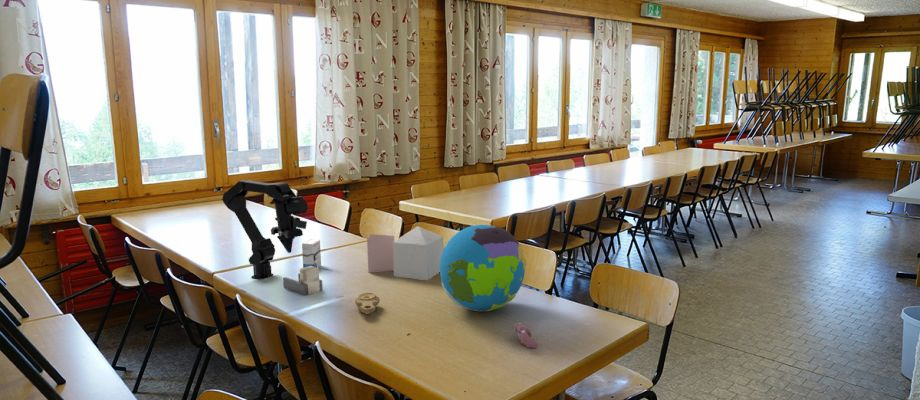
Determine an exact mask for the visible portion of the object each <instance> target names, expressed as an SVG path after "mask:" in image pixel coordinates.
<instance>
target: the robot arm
mask: <svg viewBox="0 0 920 400" xmlns="http://www.w3.org/2000/svg"><path fill="white" fill-rule="evenodd" d="M249 192H253V193H259V194H265V195H267V197H270V198H272V200H270V202H269V204H270V205H274V209H275V215H276V217H275V219H274V220H275V221H276V223H277V226H273V227H272V228H270V234H271V236H272V235H273V236H275V235H276V234H278V235H277V236H276V238H277V239H278V241H280V243H281V245H282V246H283V248H284V249H285V250H286V252H287V253H288V254H290V253H292V251H293V250H292V248H293V244H294V243H293V242H294V239H296V238H297V237H301V236H303V235H304V234H303V230H306V229H307V223H308V221H305V220H301V218H300V217H295V216H293V215H304V214H305V213H307V212H308V207H309V205H308V203H307V201H306V200H305V199H304V196H302V195H301V196H297V195H296V194H295V192H294V191H293V189H292V188H291V187H290V185H289V184H288V183H287V182H272V183H270V182H269V183H268V182H263V181H262V182H261V181H255V180H249V179H242V180H239V181H237V182H236V184H234V185H233V186H232V187H231V188H229V189H227V191H225V192H224V193H223V194H222V198H221V200H222V203H223V204H224V205H225V207H226V208H227V209H228V210H230V211H231V212H233V213H234V214H235V216H236V217H237V219H238V221H239V223H240V224H241V227H242V228H243V230H244V231H245V234H246V235H247V237H248V239H249V241H250V242H251V251H252V254H251V256H250V257H249V258H248V262H249V265H252V266H253V269H252V271H253V275H251V279H259V280H264V279H267V278H269V277H272V276H274V273H272V265H271V261H273V260H274V256H275V253H276V248H275V245H274V243H273V241H272V239H271V238H265V237H264V236H263V234H262V233H261V231H260V229H259V228H258V226H257V224H256V222H255V220H254V219H253V216H251V215H252V214H250V211H249V210H248V208H247V199H246V196H248V194H249ZM302 229H303V230H302Z"/></svg>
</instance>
